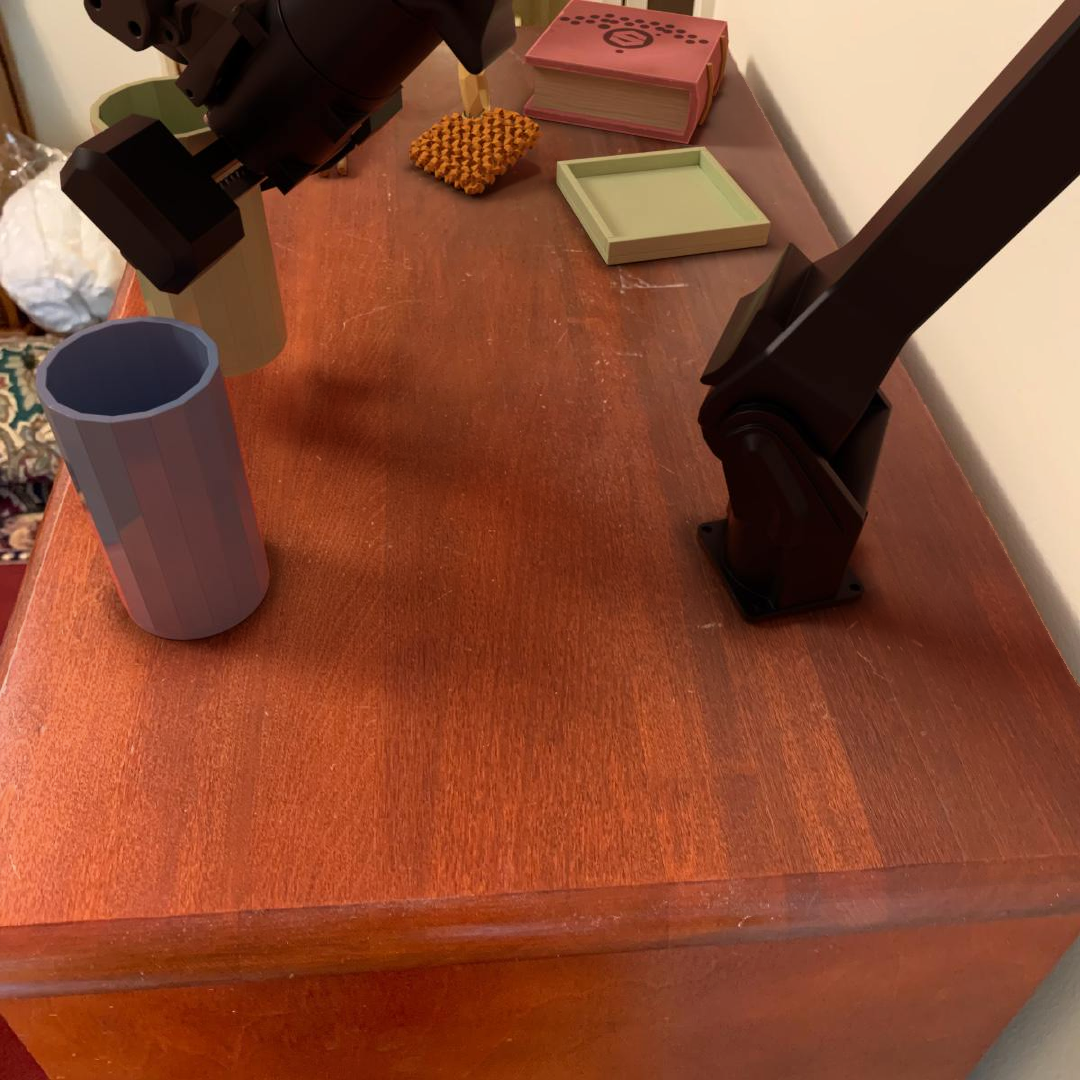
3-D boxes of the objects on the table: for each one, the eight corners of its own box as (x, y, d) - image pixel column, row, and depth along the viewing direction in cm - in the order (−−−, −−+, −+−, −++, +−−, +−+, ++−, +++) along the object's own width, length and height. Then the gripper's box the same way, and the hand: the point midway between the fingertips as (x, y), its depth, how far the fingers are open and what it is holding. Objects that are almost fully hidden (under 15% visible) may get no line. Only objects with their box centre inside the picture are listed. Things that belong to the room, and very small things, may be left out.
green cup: (294, 368, 54) (250, 130, 45) (162, 387, 53) (88, 146, 43) (280, 299, 59) (237, 69, 49) (158, 315, 57) (90, 82, 48)
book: (698, 145, 83) (707, 84, 80) (523, 115, 86) (524, 55, 83) (727, 80, 93) (737, 22, 89) (568, 55, 96) (572, -2, 92)
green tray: (766, 245, 73) (771, 222, 71) (607, 265, 70) (609, 242, 69) (701, 167, 81) (704, 146, 79) (555, 183, 78) (557, 161, 77)
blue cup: (277, 623, 47) (224, 405, 38) (125, 653, 46) (31, 434, 36) (262, 523, 52) (212, 306, 42) (123, 547, 50) (39, 328, 41)
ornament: (533, 139, 72) (530, 16, 79) (392, 164, 73) (402, 41, 81) (550, 214, 77) (545, 92, 85) (418, 235, 79) (425, 113, 87)
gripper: (321, -198, 44) (168, 27, 54) (13, -89, 32) (-106, 173, 42) (487, 25, 48) (314, 195, 58) (269, 198, 36) (101, 373, 46)
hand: (175, 226), depth 51 cm, fingers closed on green cup, 7 cm apart
